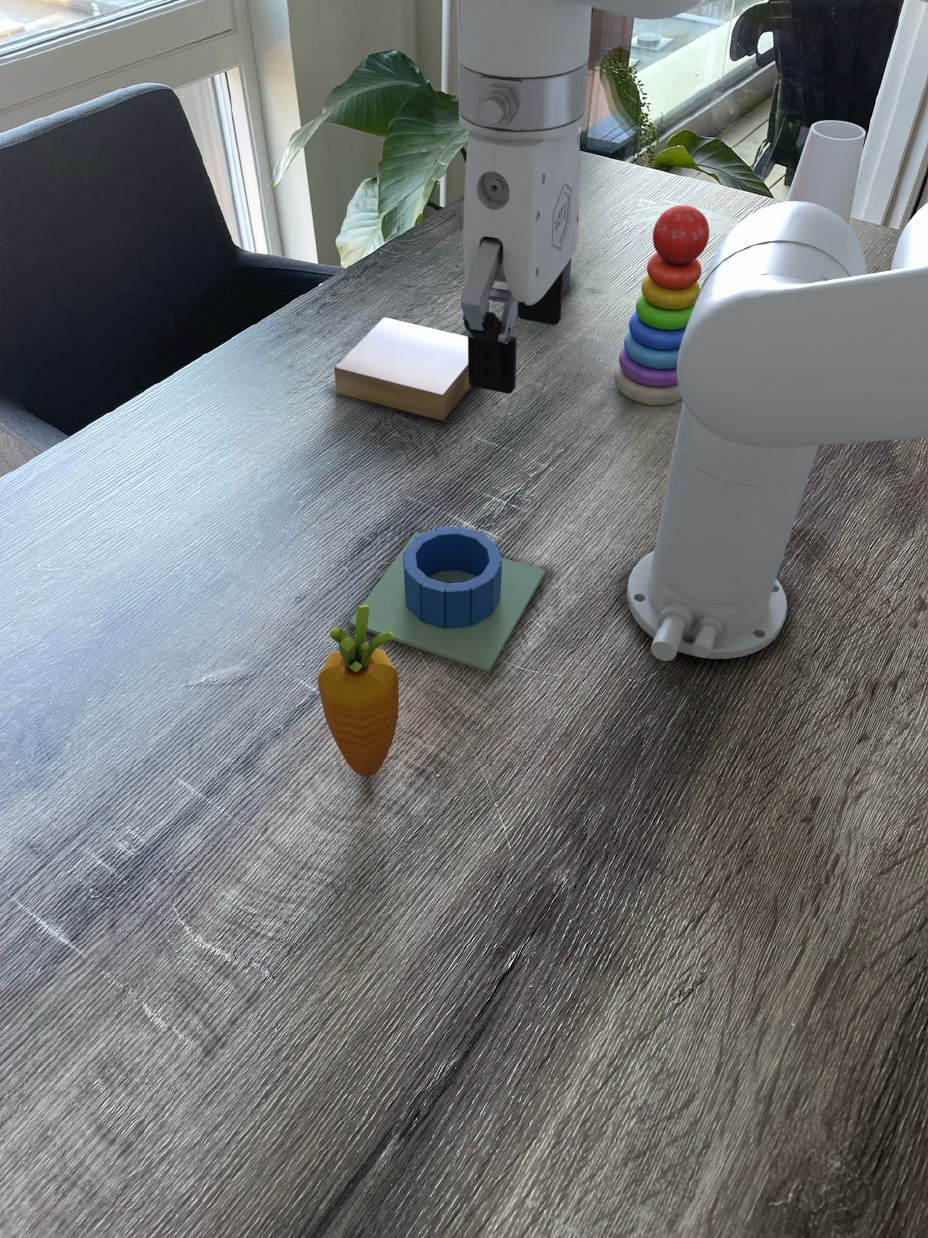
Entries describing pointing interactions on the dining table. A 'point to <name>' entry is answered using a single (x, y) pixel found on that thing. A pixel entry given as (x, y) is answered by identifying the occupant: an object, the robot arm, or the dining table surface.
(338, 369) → the platform
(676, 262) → the stacking toy
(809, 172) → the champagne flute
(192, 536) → the dining table surface
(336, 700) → the carrot
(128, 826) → the dining table surface
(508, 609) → the mat
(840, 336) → the robot arm
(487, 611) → the ring
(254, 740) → the dining table surface
